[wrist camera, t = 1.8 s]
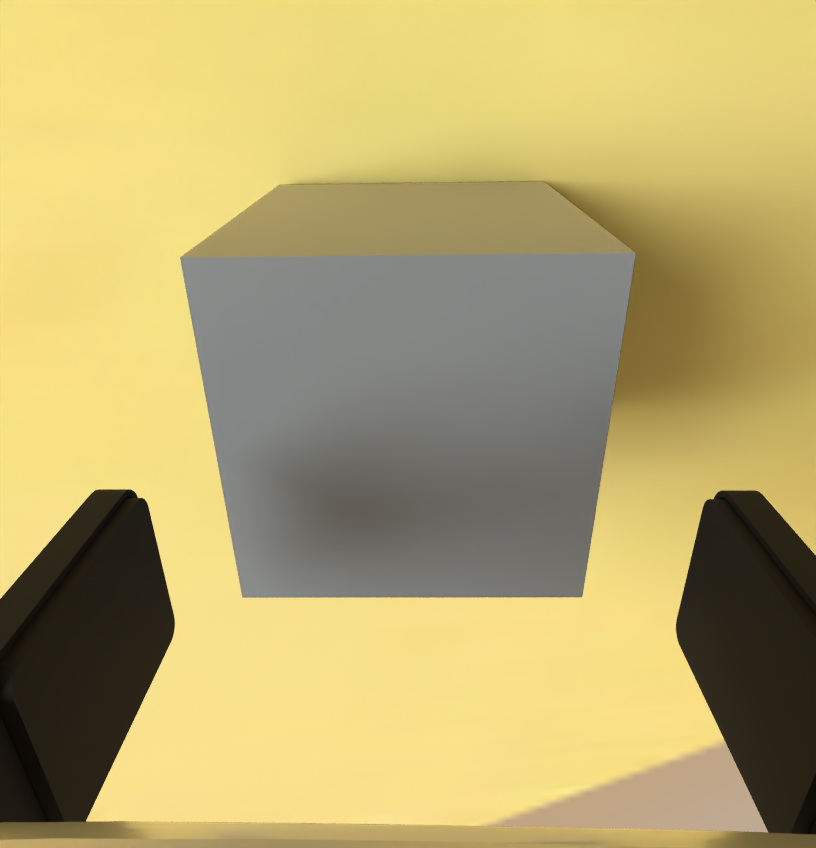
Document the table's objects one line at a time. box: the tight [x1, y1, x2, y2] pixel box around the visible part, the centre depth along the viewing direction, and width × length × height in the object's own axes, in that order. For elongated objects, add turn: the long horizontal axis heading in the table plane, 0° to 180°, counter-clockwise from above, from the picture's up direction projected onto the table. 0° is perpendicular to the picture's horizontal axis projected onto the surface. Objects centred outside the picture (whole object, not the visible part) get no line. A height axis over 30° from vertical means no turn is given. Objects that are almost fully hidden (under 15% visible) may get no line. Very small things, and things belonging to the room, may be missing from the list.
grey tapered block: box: [180, 181, 636, 597], centre depth 16 cm, size 8×8×9 cm
